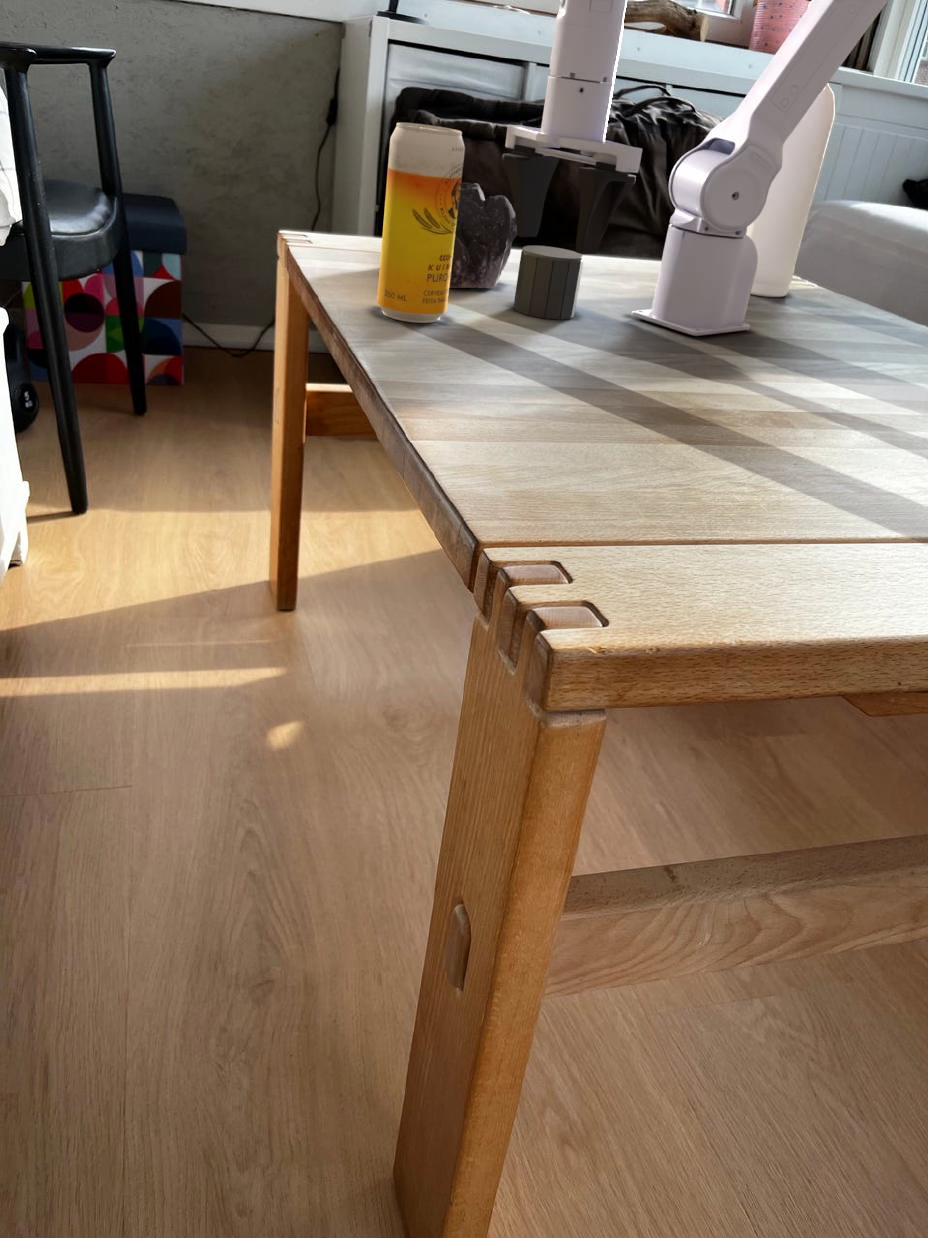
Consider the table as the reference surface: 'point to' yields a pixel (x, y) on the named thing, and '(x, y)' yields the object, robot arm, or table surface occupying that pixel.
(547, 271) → the dark grey grooved cylinder
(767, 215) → the bottle
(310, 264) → the table surface
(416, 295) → the beer can
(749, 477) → the table surface
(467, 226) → the crystal cluster
